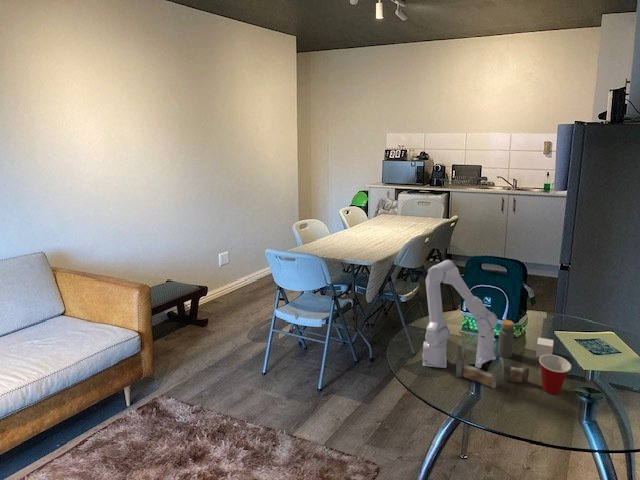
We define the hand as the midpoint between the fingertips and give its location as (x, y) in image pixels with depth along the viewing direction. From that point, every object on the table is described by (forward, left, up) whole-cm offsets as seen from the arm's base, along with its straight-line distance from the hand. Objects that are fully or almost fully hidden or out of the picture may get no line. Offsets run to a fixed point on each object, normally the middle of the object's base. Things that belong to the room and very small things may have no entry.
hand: (483, 375), depth 190 cm
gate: (-2, -1, -2) cm, 3 cm away
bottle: (+10, +22, -3) cm, 25 cm away
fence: (+12, +2, -2) cm, 12 cm away
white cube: (+26, +25, -3) cm, 37 cm away
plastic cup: (+24, -2, -3) cm, 25 cm away
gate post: (-9, +2, -2) cm, 9 cm away
